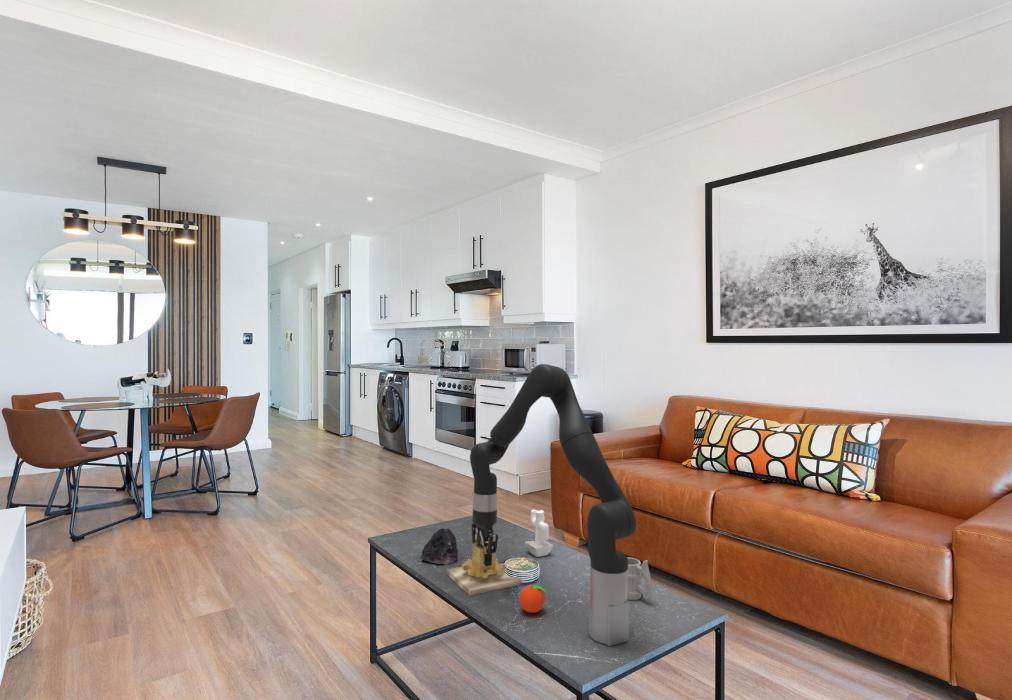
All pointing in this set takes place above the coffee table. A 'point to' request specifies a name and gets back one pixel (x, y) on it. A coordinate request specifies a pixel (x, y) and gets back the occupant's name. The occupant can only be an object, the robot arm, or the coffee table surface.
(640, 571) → the mug
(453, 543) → the black rock
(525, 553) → the coffee table surface
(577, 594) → the coffee table surface
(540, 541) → the figurine
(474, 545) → the gear
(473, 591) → the carrier plate
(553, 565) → the coffee table surface
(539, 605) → the clementine
